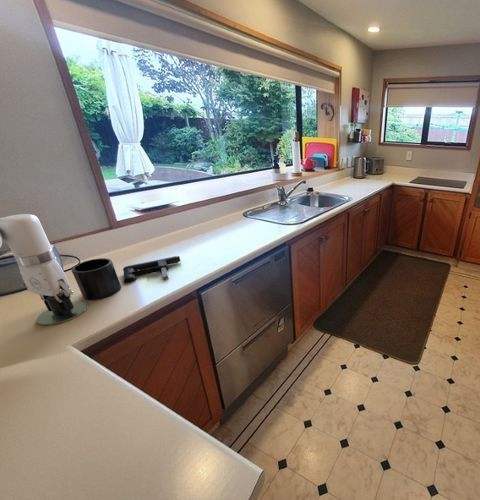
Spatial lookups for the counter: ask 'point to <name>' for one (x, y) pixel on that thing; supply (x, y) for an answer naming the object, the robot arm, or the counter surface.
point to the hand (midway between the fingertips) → (61, 309)
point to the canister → (96, 279)
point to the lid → (56, 315)
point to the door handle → (149, 268)
